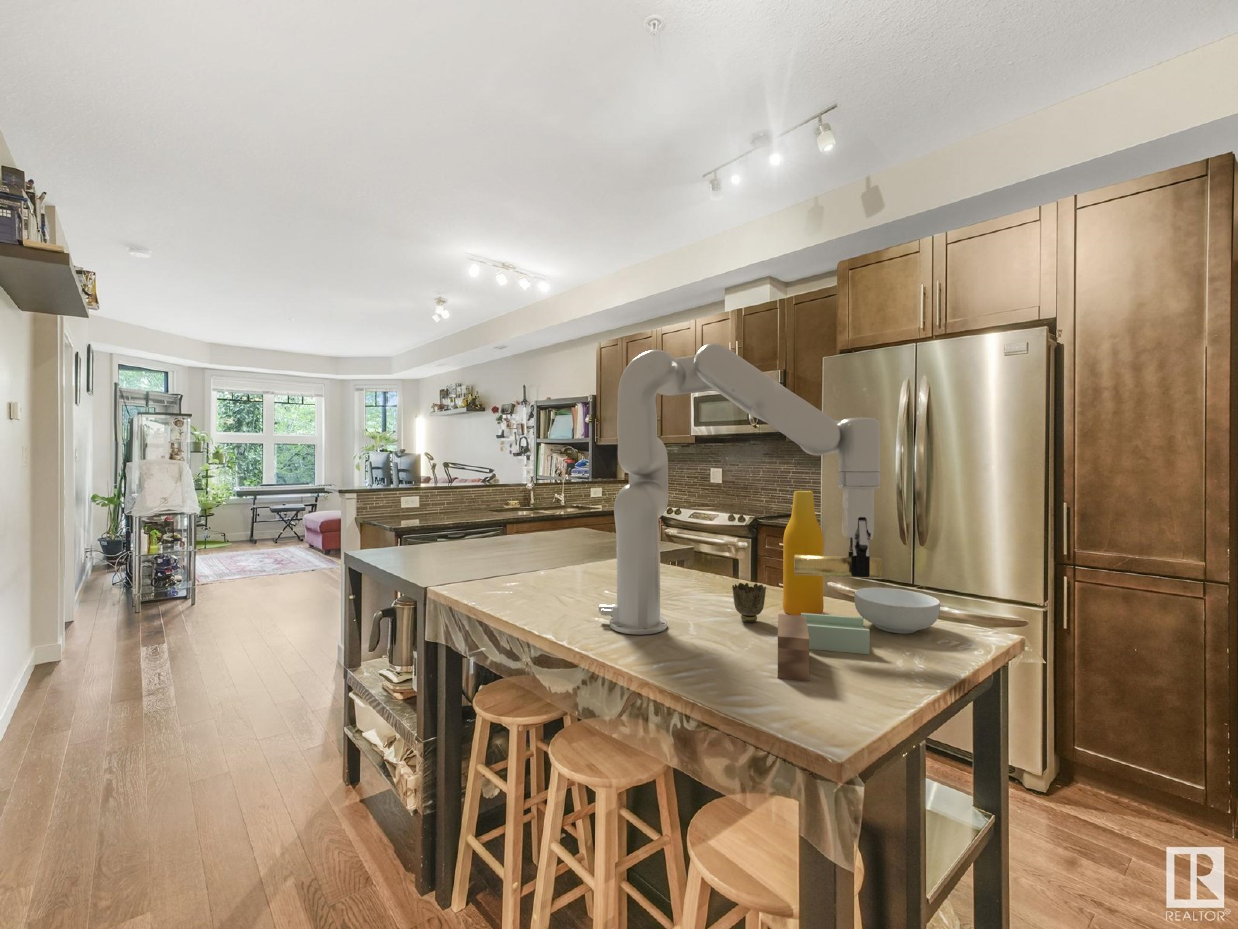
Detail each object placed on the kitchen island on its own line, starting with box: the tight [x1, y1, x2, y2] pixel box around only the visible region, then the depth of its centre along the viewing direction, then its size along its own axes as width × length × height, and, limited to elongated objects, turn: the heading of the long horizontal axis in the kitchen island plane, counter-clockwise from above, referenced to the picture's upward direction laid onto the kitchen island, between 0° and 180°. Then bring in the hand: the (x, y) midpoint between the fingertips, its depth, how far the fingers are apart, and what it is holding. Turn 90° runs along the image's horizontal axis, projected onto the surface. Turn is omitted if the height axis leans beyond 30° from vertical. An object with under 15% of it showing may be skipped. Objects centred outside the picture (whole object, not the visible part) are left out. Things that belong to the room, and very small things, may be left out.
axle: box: [794, 555, 884, 580], centre depth 111 cm, size 16×4×4 cm, turn 74°
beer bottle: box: [782, 490, 825, 616], centre depth 134 cm, size 9×9×29 cm
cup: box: [731, 582, 767, 624], centre depth 127 cm, size 8×7×8 cm
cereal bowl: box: [853, 587, 941, 634], centre depth 122 cm, size 17×17×7 cm
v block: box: [801, 613, 871, 655], centre depth 111 cm, size 12×9×4 cm
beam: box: [777, 613, 810, 682], centre depth 100 cm, size 5×14×7 cm, turn 164°
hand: (858, 573), depth 110 cm, fingers closed on axle, 4 cm apart
